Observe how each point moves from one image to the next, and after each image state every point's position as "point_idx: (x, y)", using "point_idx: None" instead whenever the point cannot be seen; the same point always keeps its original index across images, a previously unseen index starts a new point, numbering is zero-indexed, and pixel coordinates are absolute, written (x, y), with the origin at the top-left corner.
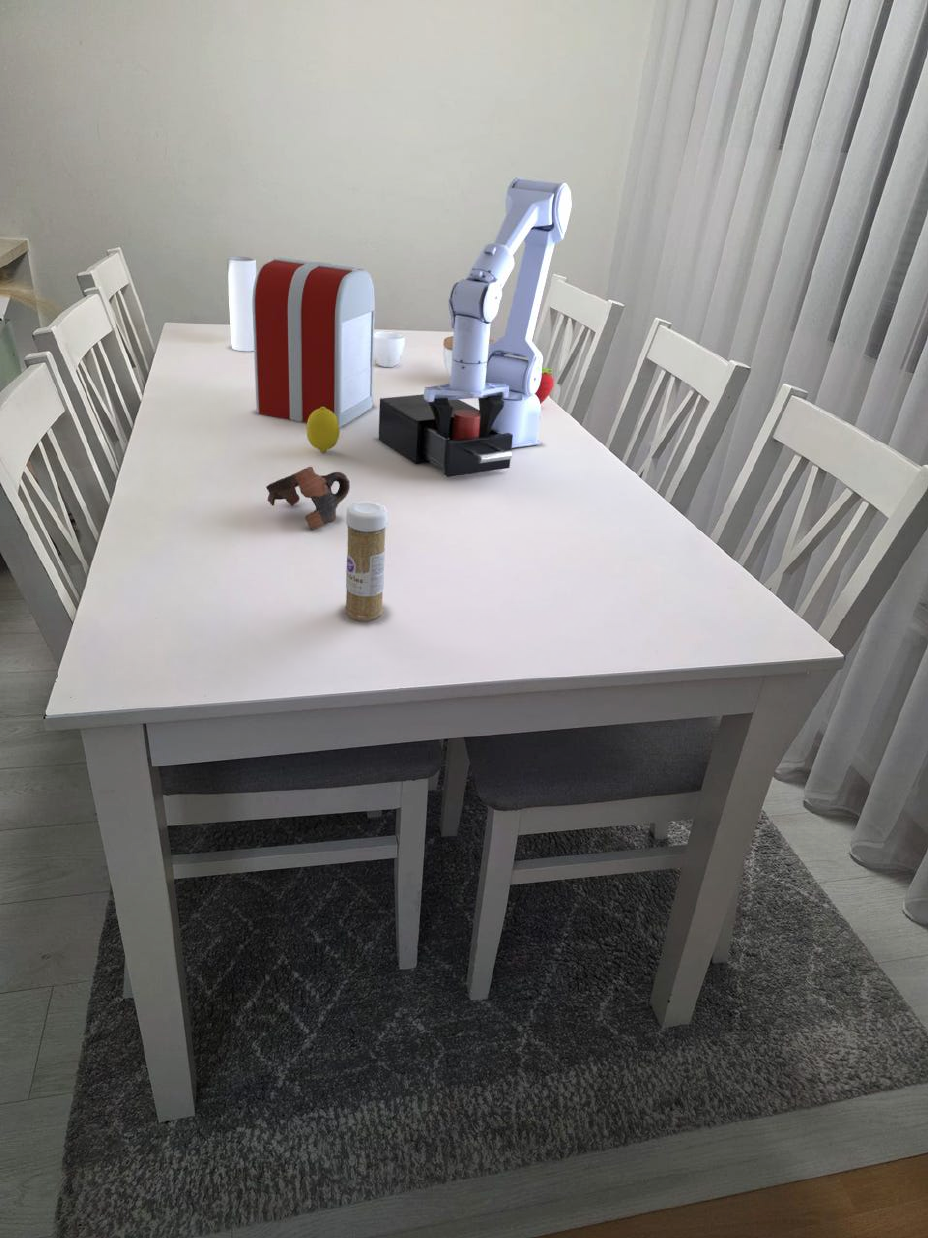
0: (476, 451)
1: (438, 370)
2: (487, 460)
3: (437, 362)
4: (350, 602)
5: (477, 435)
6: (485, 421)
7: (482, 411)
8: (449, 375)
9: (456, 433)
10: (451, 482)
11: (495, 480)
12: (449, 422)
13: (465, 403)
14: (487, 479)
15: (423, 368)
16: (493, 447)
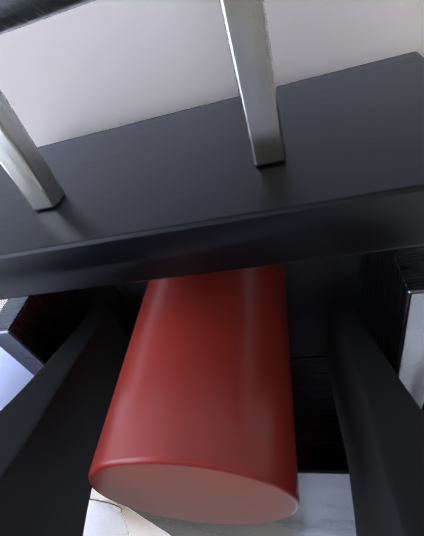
0: (195, 165)
1: (135, 524)
2: None
3: (132, 532)
4: None
5: (146, 321)
6: (67, 417)
7: (70, 491)
8: (125, 524)
9: (285, 355)
10: (375, 45)
11: (99, 44)
12: (381, 439)
13: (136, 510)
14: (143, 67)
15: (155, 529)
16: (52, 192)
